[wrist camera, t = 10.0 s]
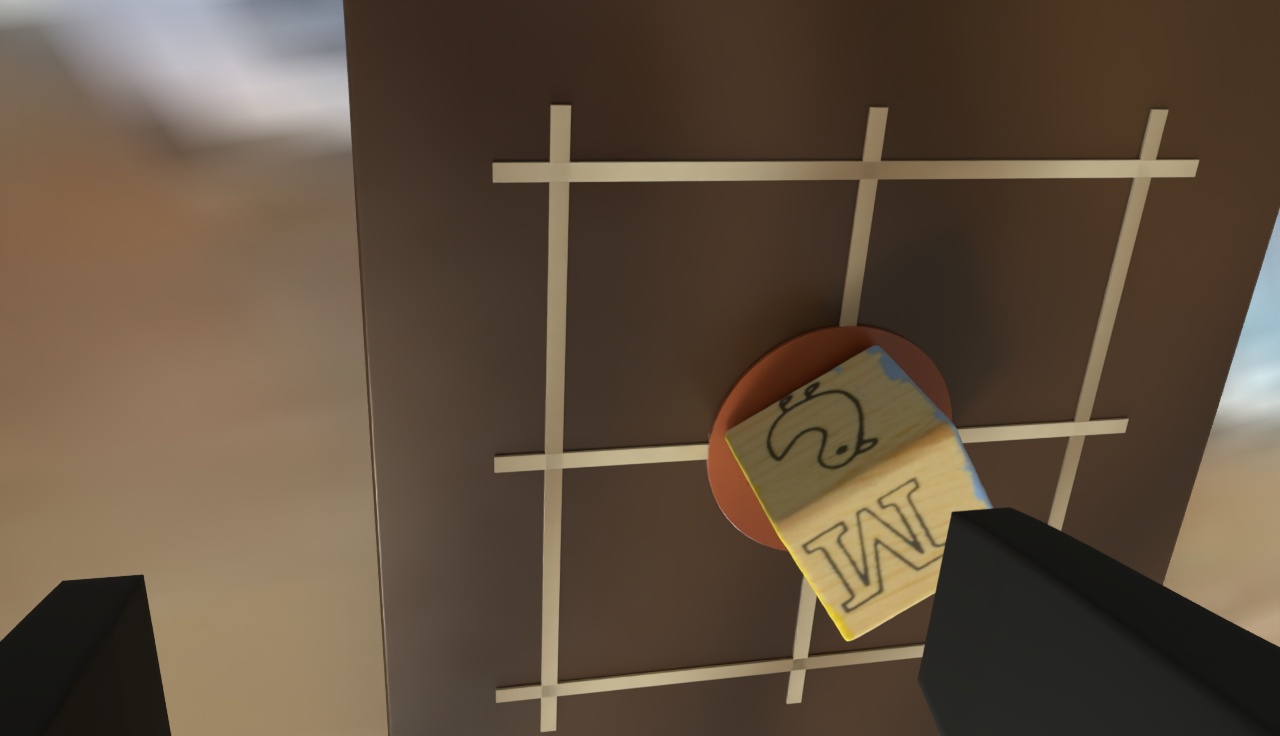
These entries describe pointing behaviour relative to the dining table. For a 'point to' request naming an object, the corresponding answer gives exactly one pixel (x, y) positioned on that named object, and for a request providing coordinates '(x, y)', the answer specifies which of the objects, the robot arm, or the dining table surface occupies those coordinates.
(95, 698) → the robot arm
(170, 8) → the dining table surface
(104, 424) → the dining table surface
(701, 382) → the board
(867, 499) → the alphabet block
